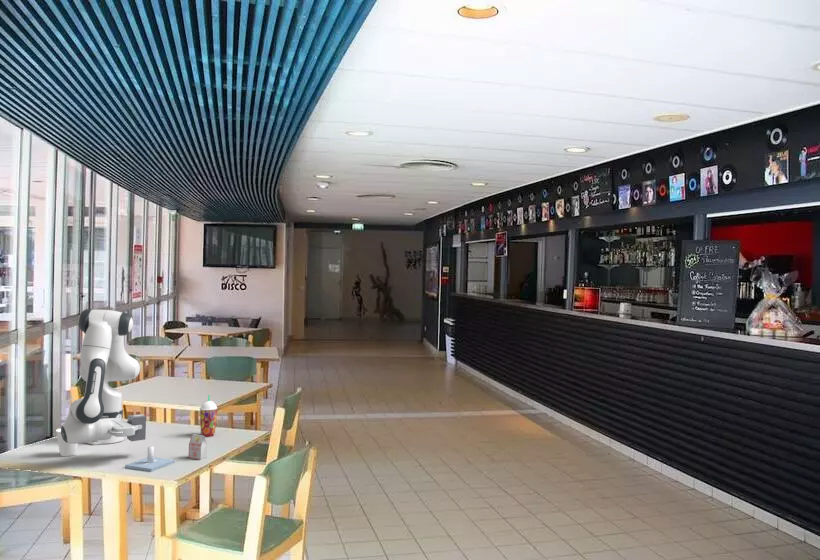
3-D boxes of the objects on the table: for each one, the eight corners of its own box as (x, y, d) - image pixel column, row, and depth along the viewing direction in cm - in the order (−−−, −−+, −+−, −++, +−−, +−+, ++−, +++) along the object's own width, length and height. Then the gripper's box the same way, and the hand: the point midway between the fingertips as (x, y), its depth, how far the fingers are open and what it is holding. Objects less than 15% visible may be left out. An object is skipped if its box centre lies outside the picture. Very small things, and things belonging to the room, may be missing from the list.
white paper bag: (194, 455, 278) (195, 433, 278) (206, 457, 275) (207, 434, 275) (188, 457, 274) (189, 434, 274) (200, 459, 272) (201, 436, 272)
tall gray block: (131, 441, 270) (132, 417, 270) (126, 438, 274) (127, 414, 274) (145, 439, 274) (146, 415, 274) (140, 436, 278) (141, 413, 278)
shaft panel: (125, 468, 257) (125, 449, 257) (149, 459, 270) (149, 441, 270) (151, 471, 253) (152, 453, 253) (174, 462, 266) (175, 444, 266)
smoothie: (209, 432, 320) (210, 393, 320) (220, 435, 315) (221, 395, 315) (195, 435, 313) (196, 395, 313) (205, 438, 308) (207, 397, 308)
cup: (86, 453, 277) (86, 428, 277) (67, 459, 268) (68, 433, 268) (68, 450, 280) (69, 425, 280) (49, 456, 271) (50, 430, 271)
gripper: (112, 426, 258) (147, 422, 267) (97, 417, 273) (131, 413, 282) (112, 442, 258) (147, 437, 267) (97, 431, 273) (130, 427, 282)
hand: (138, 424), depth 275 cm, fingers closed on tall gray block, 6 cm apart
